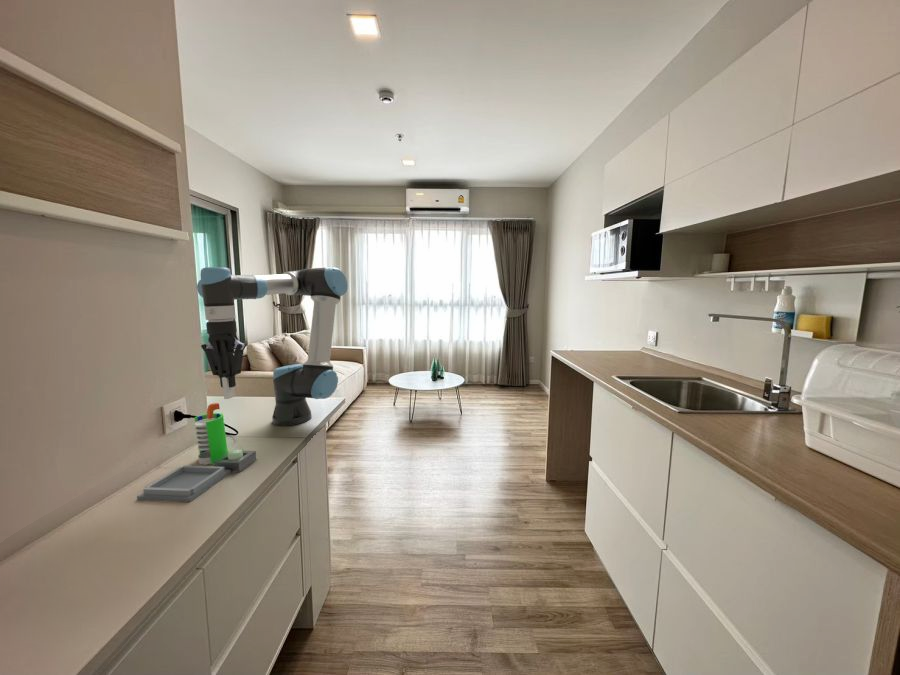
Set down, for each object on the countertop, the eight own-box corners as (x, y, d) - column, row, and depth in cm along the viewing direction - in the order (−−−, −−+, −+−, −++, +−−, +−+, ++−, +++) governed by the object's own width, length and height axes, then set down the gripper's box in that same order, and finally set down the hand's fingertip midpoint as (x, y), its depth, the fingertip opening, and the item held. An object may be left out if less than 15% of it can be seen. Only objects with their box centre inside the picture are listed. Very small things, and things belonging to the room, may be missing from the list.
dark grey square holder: (233, 459, 117) (232, 450, 116) (256, 459, 116) (255, 450, 116) (215, 471, 109) (213, 462, 109) (239, 472, 108) (238, 462, 108)
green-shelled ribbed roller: (191, 462, 115) (184, 408, 113) (215, 451, 123) (209, 400, 121) (211, 466, 112) (205, 410, 110) (234, 455, 120) (229, 402, 117)
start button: (234, 461, 115) (233, 449, 114) (246, 461, 114) (245, 449, 114) (225, 467, 111) (224, 454, 110) (237, 467, 110) (236, 455, 110)
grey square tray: (184, 471, 109) (183, 463, 109) (230, 472, 108) (229, 465, 108) (137, 499, 95) (136, 491, 94) (190, 501, 93) (188, 493, 93)
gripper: (190, 322, 104) (200, 401, 107) (232, 321, 102) (241, 401, 105) (210, 319, 111) (218, 393, 114) (249, 319, 110) (257, 394, 113)
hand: (229, 397), depth 110 cm, fingers closed
